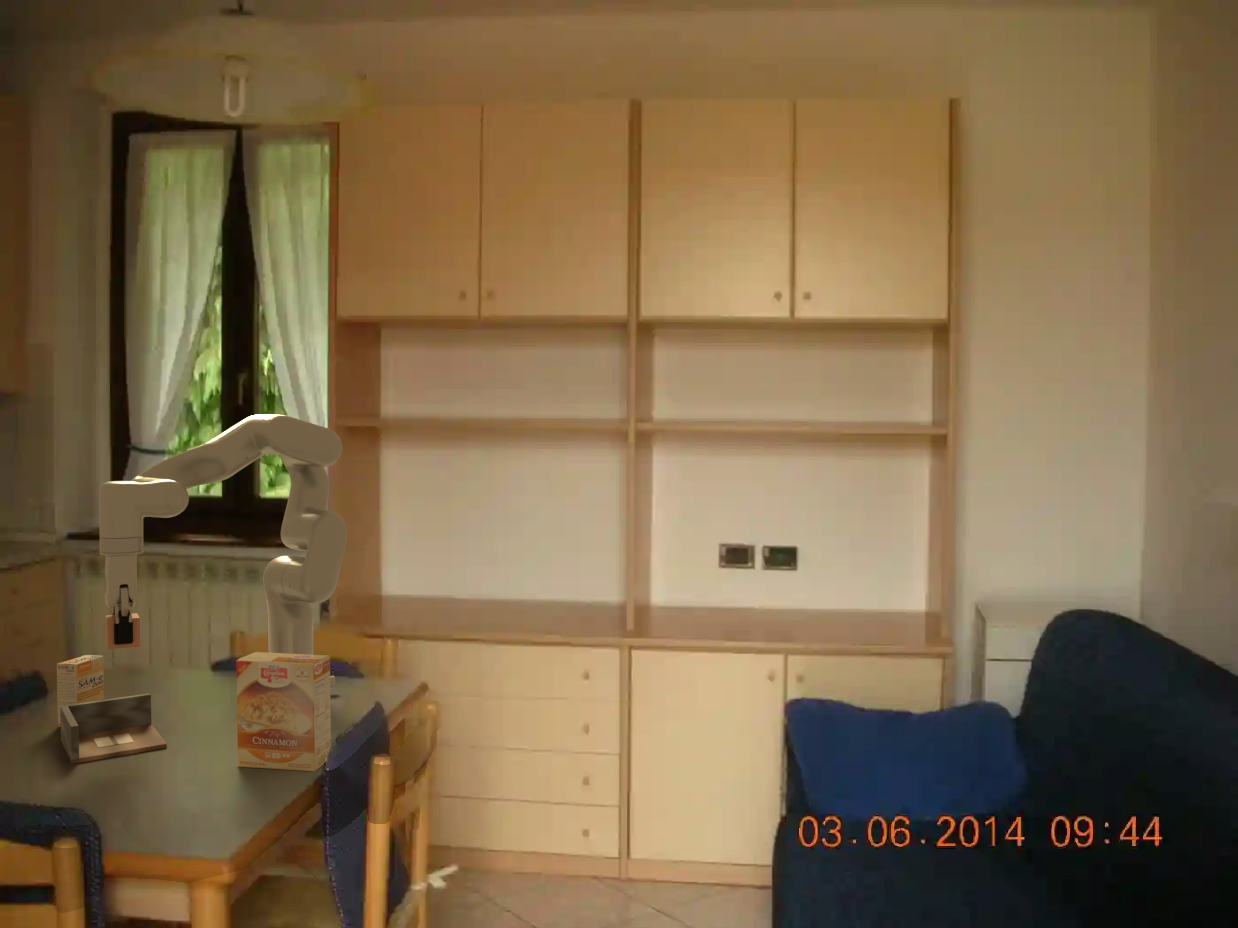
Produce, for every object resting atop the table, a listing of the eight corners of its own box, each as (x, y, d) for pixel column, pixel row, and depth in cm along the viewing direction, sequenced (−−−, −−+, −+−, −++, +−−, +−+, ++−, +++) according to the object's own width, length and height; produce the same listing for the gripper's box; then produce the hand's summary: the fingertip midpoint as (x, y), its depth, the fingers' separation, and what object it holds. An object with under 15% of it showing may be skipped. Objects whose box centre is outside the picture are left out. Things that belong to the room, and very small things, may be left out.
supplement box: (78, 728, 208) (76, 664, 208) (57, 727, 209) (55, 663, 209) (106, 717, 216) (104, 654, 216) (85, 715, 217) (84, 653, 217)
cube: (105, 643, 199) (105, 614, 199) (137, 641, 202) (137, 612, 202) (107, 649, 195) (107, 619, 194) (139, 646, 197) (139, 617, 197)
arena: (150, 726, 210) (149, 693, 210) (166, 747, 197) (165, 712, 196) (61, 740, 201) (60, 705, 201) (71, 763, 188) (70, 726, 187)
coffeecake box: (236, 767, 186) (234, 659, 185) (256, 754, 193) (255, 650, 192) (314, 772, 184) (313, 663, 183) (332, 759, 191) (331, 653, 190)
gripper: (97, 542, 203) (97, 634, 204) (102, 552, 188) (103, 651, 189) (139, 540, 207) (139, 630, 208) (147, 550, 192) (148, 647, 193)
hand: (122, 639), depth 198 cm, fingers closed on cube, 5 cm apart
